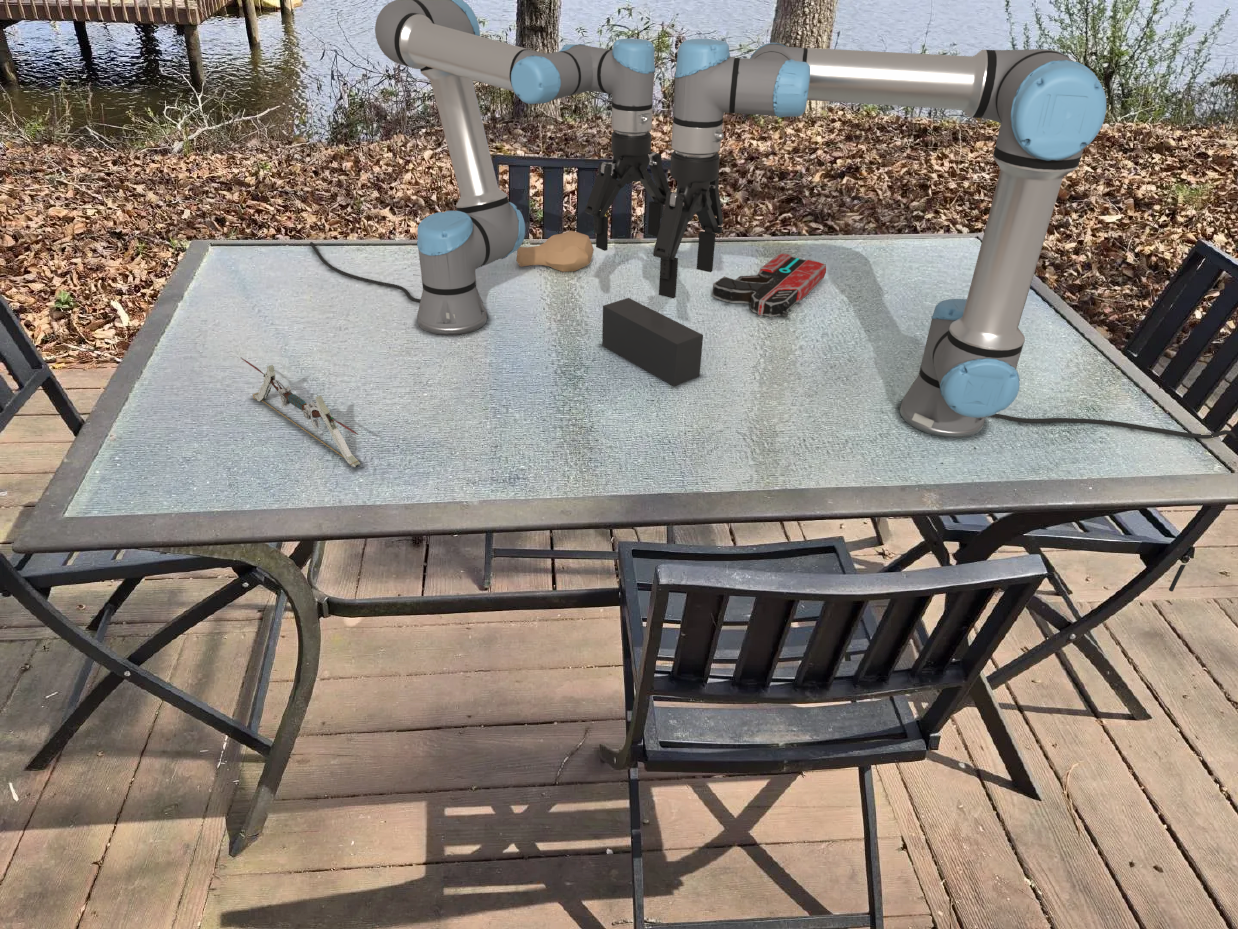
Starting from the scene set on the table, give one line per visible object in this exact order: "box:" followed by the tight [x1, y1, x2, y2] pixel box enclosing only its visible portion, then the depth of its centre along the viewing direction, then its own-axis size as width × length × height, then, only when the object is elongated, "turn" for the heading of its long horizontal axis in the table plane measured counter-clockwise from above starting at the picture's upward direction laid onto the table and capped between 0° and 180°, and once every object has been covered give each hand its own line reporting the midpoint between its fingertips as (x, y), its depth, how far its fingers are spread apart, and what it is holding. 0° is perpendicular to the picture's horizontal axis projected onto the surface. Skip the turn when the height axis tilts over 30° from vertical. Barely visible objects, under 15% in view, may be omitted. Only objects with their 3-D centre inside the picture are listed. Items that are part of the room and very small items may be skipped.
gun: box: [711, 252, 827, 318], centre depth 215 cm, size 4×31×19 cm
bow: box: [240, 356, 362, 468], centre depth 154 cm, size 39×2×10 cm, turn 47°
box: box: [601, 297, 704, 387], centre depth 181 cm, size 23×7×9 cm, turn 39°
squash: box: [515, 230, 595, 273], centre depth 224 cm, size 11×20×9 cm, turn 90°
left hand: (628, 241), depth 176 cm, fingers open, 13 cm apart
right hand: (686, 282), depth 146 cm, fingers open, 13 cm apart
